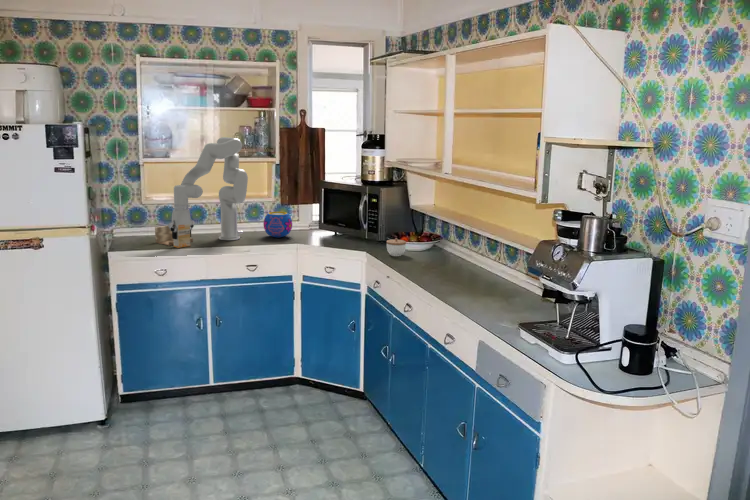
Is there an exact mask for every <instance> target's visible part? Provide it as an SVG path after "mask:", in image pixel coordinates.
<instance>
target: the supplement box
mask: <svg viewBox="0 0 750 500" xmlns="http://www.w3.org/2000/svg"><path fill="white" fill-rule="evenodd" d="M173 226H175V224H173ZM175 227H176V226H175ZM176 232H177V239H174V245H173V248H176V249H180V248H186V247H191V242H190V238H191V237H190V224H185V225H178V228H177V231H176Z"/></svg>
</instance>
